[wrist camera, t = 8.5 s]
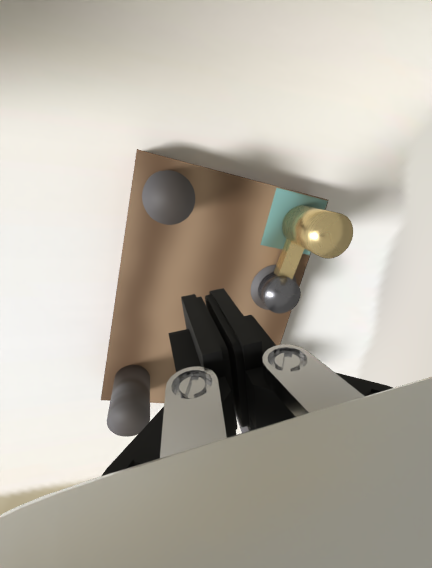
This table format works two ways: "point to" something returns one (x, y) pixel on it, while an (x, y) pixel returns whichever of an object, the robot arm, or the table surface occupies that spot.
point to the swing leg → (302, 235)
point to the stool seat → (187, 270)
